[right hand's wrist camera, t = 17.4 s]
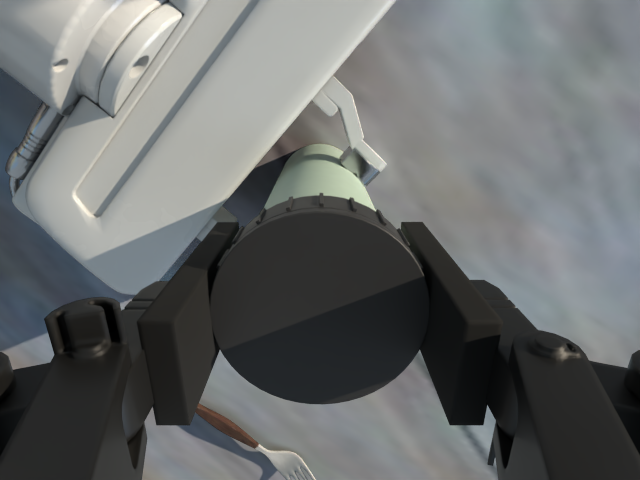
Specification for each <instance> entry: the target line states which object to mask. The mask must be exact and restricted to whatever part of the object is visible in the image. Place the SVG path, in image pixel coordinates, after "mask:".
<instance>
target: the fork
mask: <svg viewBox="0 0 640 480" xmlns="http://www.w3.org/2000/svg"><path fill="white" fill-rule="evenodd" d="M195 412H196V413H197V414H198V415H199V416H201V417H202V418H203V419H205V420H206V421H207V422H208V423H210V424H211V425H212V426H214V427H215V428H216V429H218V430H219V431H221V432H223V433H225V434H226V435H228V436H230V437H232V438H234V439H236V440H238V441H240V442H242V443H244V444H246V445H248V446H250V447H252V448H254V449H256V450H258V451H260V452H262V453H263V454H265V455H266V456H267V457H268V458H269V460H270V461H271V463H272V464H273V465H274V467H275V468H276V469H277V470H278V471H279V472H280V473H281V474H282V475H283V476H284V478H285V479H286V480H291V478H290V476H292V477H293V478H294V479H295V480H299V478H298V476H297V475H296V473H295V472H298V473H299V474H300V475H301V477H302V478H303V479H304V480H308V479H307V478H306V476H305V475H304V473H303V472H302V470H301V467H302V468H304V470H305V471H306V472H307V473H308V474H309V476H310V477H311V478H312V480H316V479H315V478H314V476H313V474H312V473H311V471H310V470H309V468H308V467H307V466H306V464H305V463H304V461H303V460H302V459H301V458H300V456H298V455H297V454H296V453H294V452H291V451H271V450H267V449H265V448H264V447H262V446H261V445H260V444H259V443H257V442H256V441H255V440H254V439H253V438H251V437H250V436H249V435H248V434H247V433H246V432H244V431H243V430H242V429H241V428H240V427H238V426H237V425H236V424H234V423H233V422H232V421H230V420H229V419H227V418H225V417H224V416H222V415H220V414H218V413H216V412H214V411H212V410H210V409H208V408H206V407H205V406H203V405H201V404H199V403H198V406H197V408H196V411H195Z"/></svg>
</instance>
